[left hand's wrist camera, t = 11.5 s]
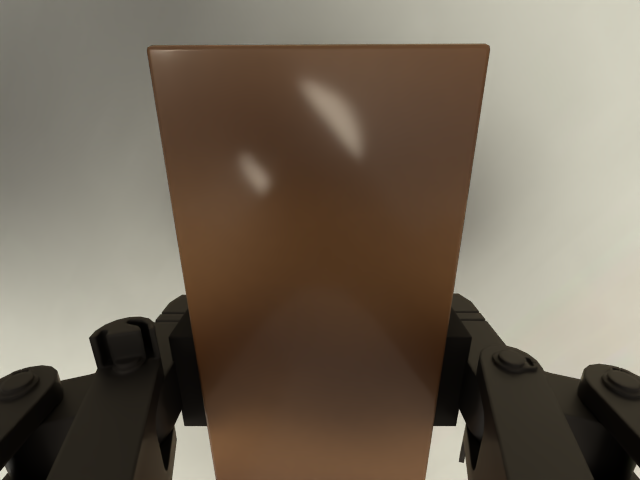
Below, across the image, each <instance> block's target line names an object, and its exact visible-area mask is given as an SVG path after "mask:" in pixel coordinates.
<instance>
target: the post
mask: <svg viewBox="0 0 640 480" xmlns="http://www.w3.org/2000/svg"><path fill="white" fill-rule="evenodd" d="M489 53H490V46H489V45H487V44H309V45H151V46H149V47H147V54H148V60H149V67H150V73H151V79H152V85H153V91H154V98H155V104H156V110H157V116H158V123H159V129H160V135H161V141H162V147H163V154H164V160H165V166H166V172H167V178H168V185H169V191H170V197H171V203H172V210H173V216H174V222H175V228H176V234H177V241H178V247H179V253H180V259H181V265H182V272H183V278H184V284H185V290H186V296H187V303H188V309H189V315H190V321H191V328H192V334H193V340H194V346H195V352H196V359H197V365H198V371H199V377H200V383H201V390H202V396H203V402H204V408H205V414H206V421H207V427H208V433H209V439H210V446H211V452H212V458H213V464H214V470H215V477H216V480H425V477H426V470H427V464H428V457H429V450H430V444H431V437H432V430H433V424H434V417H435V411H436V404H437V397H438V391H439V384H440V377H441V371H442V364H443V358H444V351H445V344H446V338H447V331H448V324H449V318H450V311H451V305H452V298H453V291H454V285H455V278H456V271H457V265H458V258H459V252H460V245H461V238H462V232H463V225H464V218H465V212H466V205H467V199H468V192H469V185H470V179H471V172H472V165H473V159H474V152H475V146H476V139H477V132H478V126H479V119H480V112H481V106H482V99H483V93H484V86H485V79H486V73H487V66H488V59H489Z"/></svg>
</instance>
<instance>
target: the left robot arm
mask: <svg viewBox="0 0 640 480" xmlns="http://www.w3.org/2000/svg"><path fill="white" fill-rule="evenodd" d="M89 340H90V343H91V347H92V350H93V354H94V358H95V361H96V365H97V368H98V369H97V371H96V373H94V374H90V375H86V376H81V377H76V378H71V379H67V380H62V381H60V378H59V375H58V372H57V370H56V369H54V368H53V367H51V366H43V365H41V366H34V367H28V368H24V369H22V370H21V369H20V370H17V371H15V372H12V373H11V374H9V375H7V376H5V377H3V378H1V379H0V471H1V470H2V468H3V467H4V466H5V467H6V469H7V472H8V473H7V474H6V476H5V477H4V478H3V479H2V480H172V475H173V466H174V458H175V450H176V441H177V438H176V431H175V426H174V425H175V423H176V421H177V418H178V416H179V414H180V412H181V410H182V415H183V420H184V426H207V421H206V414H205V408H204V402H203V396H202V390H201V383H200V377H199V371H198V365H197V359H196V352H195V346H194V340H193V334H192V328H191V321H190V315H189V309H188V303H187V296H186V295H181V296H179V297H178V298H176V299H175V300H173V301H172V302H170V303H169V304H168V305H167V307H166V308H165V309H164V310H163V312H162V314H160V315H159V317H158V318H157V319H156V322H153V321H151V320H150V319H149V318H144V317H128V318H123V319H119V320H116V321H113V322H111V323H108V324H106V325H104V326H102V327H101V328H99V329H98V330H96V331H95V332H94V333H93V334H92V335H91V336H90V338H89ZM459 409H460V411H461V414H462V416H463V418H464V420H465V422H466V426H465V431H464V436H463V441H462V446H461V451H460V458H459V462H462V463H464V459H465V457H466V466H467V474H468V480H640V479H639V478H638V477H637V475H636V474H635V473H634V472H633V471H634V469H635V466H636V464H637V465H638V466H639V467H640V377H639V376H637V375H635V374H633V373H631V372H630V371H628V370H625V369H622V368H619V367H615V366H611V365H604V364H594V365H589V366H587V367H586V368H585V369H584V371H583V374H582V377H581V379H576V378H571V377H567V376H562V375H557V374H552V373H549V372H545V371H544V370H543V368H542V367H541V365H540V364H539V363H538V361H537V360H535V359H534V358H533V357H531V356H530V355H529V354H527V353H525V352H523V351H521V350H519V349H517V348H513V347H509V346H506V345H505V343H504V342H503V341H502V340H501V338H500V337H499V336H498V335H497V333H496V332H495V331H494V330H493V328H492V327H491V326H490V325H489V323H488V322H487V321H485V318H484V317H483V316H482V315H481V313H479V311H478V310H477V308H476V307H475V306H474V305H473V303H472V302H471V301H469V300H468V299H466V298H465V297H463V296H461V295H460V294H453V298H452V305H451V311H450V318H449V324H448V331H447V338H446V344H445V351H444V358H443V364H442V371H441V377H440V384H439V391H438V397H437V404H436V411H435V417H434V424H433V426H456V423H457V417H458V412H459Z"/></svg>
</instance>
